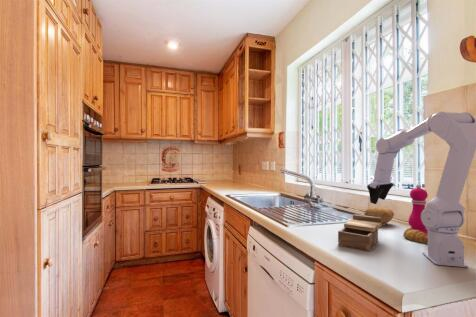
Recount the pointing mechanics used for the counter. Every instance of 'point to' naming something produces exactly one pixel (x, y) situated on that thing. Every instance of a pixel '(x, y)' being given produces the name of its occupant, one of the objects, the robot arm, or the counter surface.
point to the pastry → (416, 236)
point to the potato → (380, 213)
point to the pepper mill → (418, 208)
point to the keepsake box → (357, 239)
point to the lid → (364, 223)
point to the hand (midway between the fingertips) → (377, 201)
